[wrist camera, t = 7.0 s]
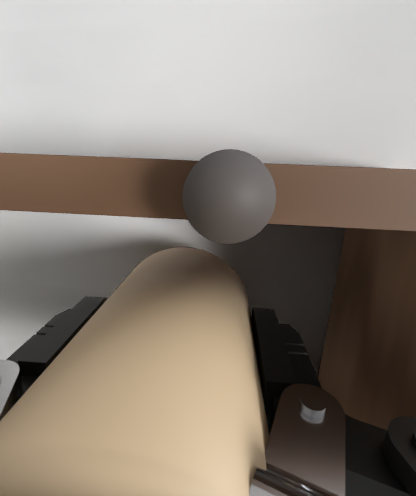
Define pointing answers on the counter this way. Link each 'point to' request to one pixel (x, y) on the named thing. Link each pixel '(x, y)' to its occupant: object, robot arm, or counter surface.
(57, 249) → the counter surface
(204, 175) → the holder
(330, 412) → the robot arm
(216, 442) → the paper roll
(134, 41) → the counter surface
